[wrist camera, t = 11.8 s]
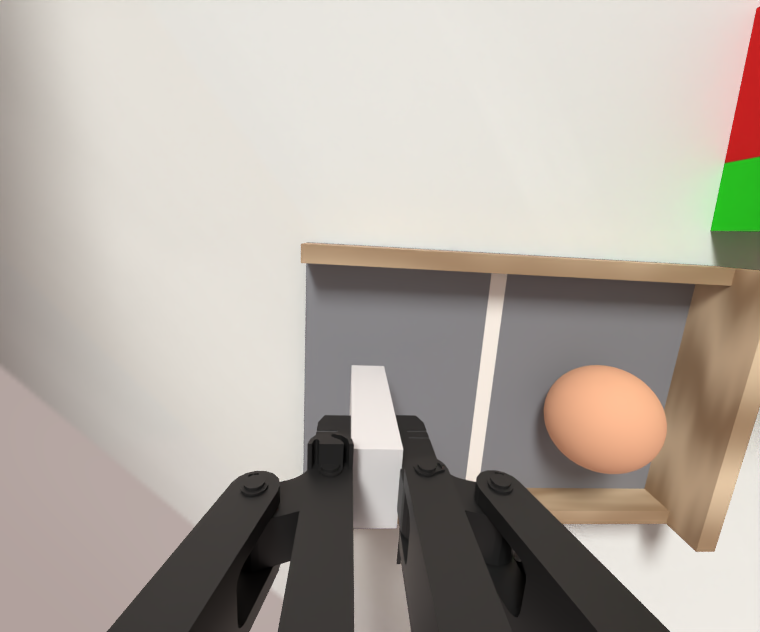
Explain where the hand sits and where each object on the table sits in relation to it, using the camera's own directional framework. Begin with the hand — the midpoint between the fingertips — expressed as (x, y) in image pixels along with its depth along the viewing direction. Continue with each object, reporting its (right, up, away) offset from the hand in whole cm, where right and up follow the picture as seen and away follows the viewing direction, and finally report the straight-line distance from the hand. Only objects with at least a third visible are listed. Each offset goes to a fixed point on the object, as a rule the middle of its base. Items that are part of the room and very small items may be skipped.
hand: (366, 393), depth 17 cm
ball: (+11, -1, 0) cm, 11 cm away
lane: (+7, 0, +3) cm, 8 cm away
